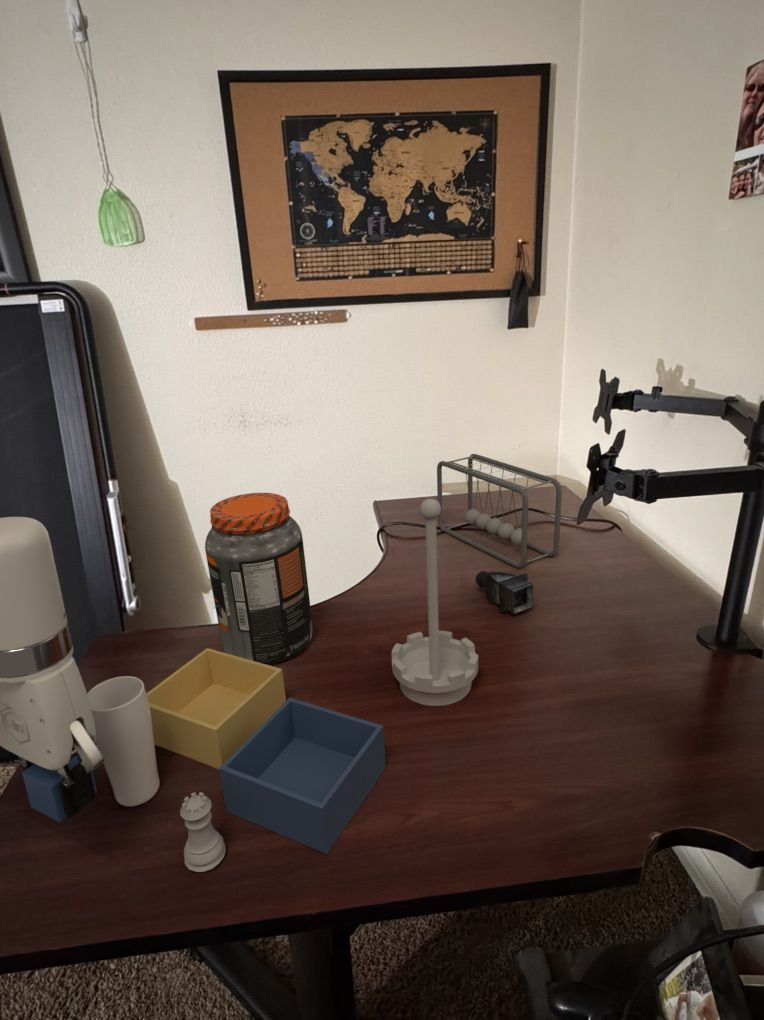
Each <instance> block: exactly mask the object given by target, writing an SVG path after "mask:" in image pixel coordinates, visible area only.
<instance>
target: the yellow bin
mask: <svg viewBox="0 0 764 1020" xmlns="http://www.w3.org/2000/svg"><path fill="white" fill-rule="evenodd" d="M146 693H147V697H148V701H149V706H150V711H151V718H152V727H153V736H154V745H155V746H157V747H160V748H163V749H165V750H167V751H170V752H173V753H175V754H177V755H181V756H183V757H185V758H188V759H191V760H194V761H196V762H199V763H201V764H204V765H207V766H208V767H211V768H213V769H217V770H219V768H220V767H221V766H222V765H223V764H224V763H225V762H226V761H227V760H228V759H229V758H230V757H231V756H232V755H233V754H234V753H235V752H236V751H237V750H238V749H239V748H240V747H241V746H242V745H243V744H244V743H245V742H246V741H247V740H248V739H249V738H250V737H251V736H252V735H253V734H254V733H255V732H256V731H257V730H258V729H259V728H260V727H261V726H262V725H263V724H264V723H265V722H266V721H267V720H268V719H269V718H270V717H271V716H272V715H273V714H274V713H275V712H276V711H277V710H278V709H279V708H280V707H281V706H282V705H283V704H284V703H285V702H286V701H287V698H286V697H287V695H286V689H285V681H284V674H283V669H282V668H281V667H280V668H279V667H277V666H272V665H270V664H267V665H266V664H262V663H259V662H255V661H252V660H248V659H245V658H241V657H237V656H234V655H230V654H227V653H226V652H223V651H220V650H217V649H213V648H209V647H206V649H204V650H203V651H201V652H200V653H199V654H197V655H195V656H194V657H193V658H192V659H191V660H189V661H187V662H186V663H185V664H184V665H182V666H181V667H180V668H179V669H177V670H176V671H175V672H173V673H171V674H170V675H169V676H168V677H166V678H165V679H164V680H162V681H161V682H160V683H158V684H157V685H155V686H154V687H153V688H152V689H150V690H149V691H148V692H146Z"/></svg>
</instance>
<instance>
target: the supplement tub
mask: <svg viewBox="0 0 764 1020" xmlns="http://www.w3.org/2000/svg"><path fill="white" fill-rule="evenodd" d="M288 501H289V500H288V499H287V498H286V497H285V496H283V495H281V494H278V493H273V492H249V493H243V494H238V495H234V496H229V497H226V498H224V499H222V500H219V501H218V502H216V503H215V504H213V505H212V506H211V508H210V510H209V515H210V520H209V521H210V525H211V528H210V530H209V531H208V532H207V535H206V538H205V541H204V542H205V543H204V550H205V556H206V563H207V568H208V574H209V580H210V586H211V592H212V596H213V602H214V607H215V614H216V618H217V624H218V629H219V636H220V641H221V645H222V648H223V650H224V653H227V654H230V655H234V656H237V657H241V658H245V659H248V660H252V661H255V662H259V663H262V664H266V665H272V664H276V663H279V662H282V661H286V660H288V659H290V658H291V659H292V658H293V657H294V656H297V655H299V654H300V653H301V652H303V651H304V650H305V649H306V648H307V647H308V646H309V643H310V642H311V641H312V637H313V631H314V628H313V627H314V625H313V618H312V608H311V599H310V592H309V591H310V589H309V582H308V573H307V566H306V555H305V547H304V540H303V539H304V538H303V532H302V529H301V526H300V524H299V523H297V521H296V520H295V519H294V518H293V517H292V516H291V515H290V513H291V510H290V507H289V502H288Z"/></svg>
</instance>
